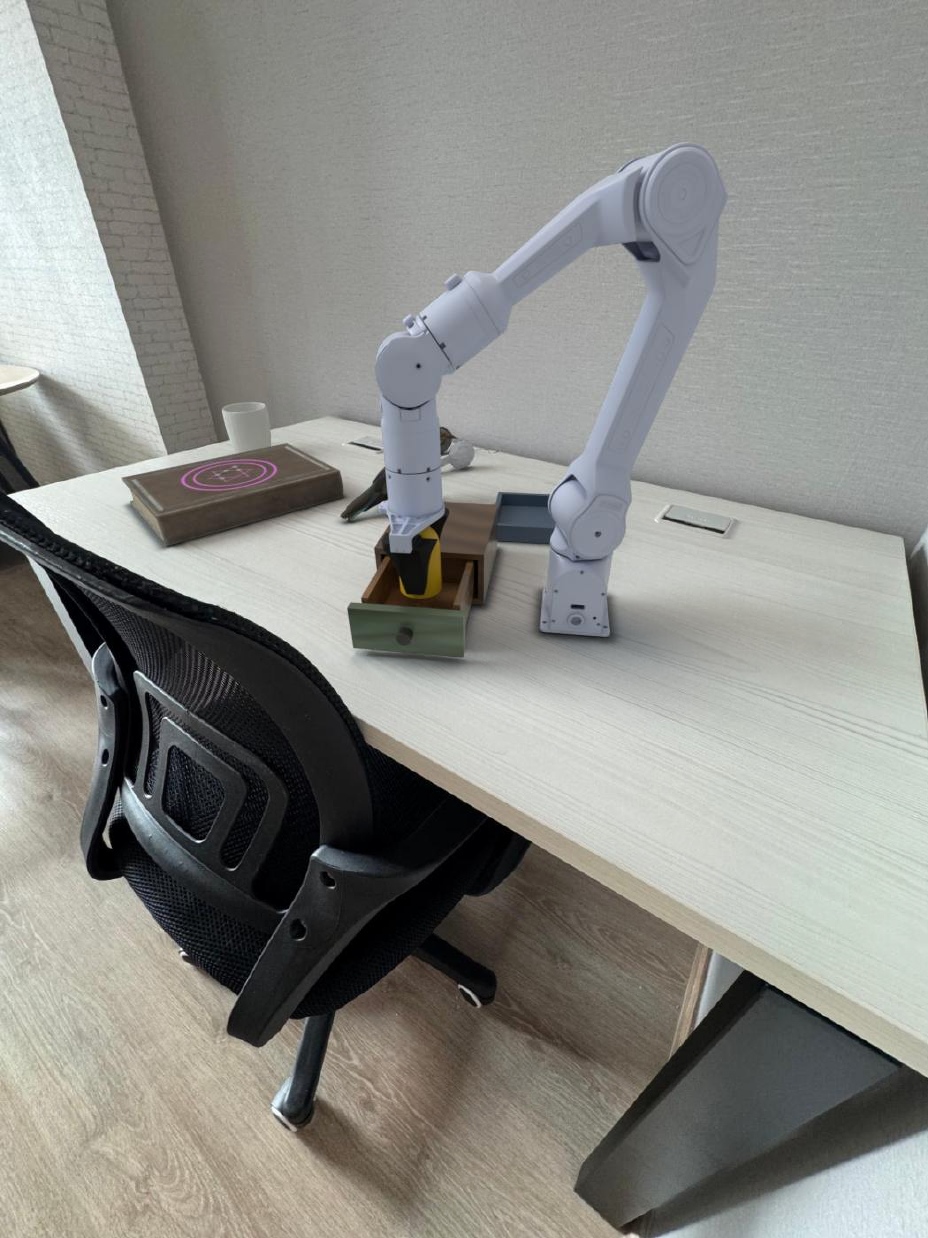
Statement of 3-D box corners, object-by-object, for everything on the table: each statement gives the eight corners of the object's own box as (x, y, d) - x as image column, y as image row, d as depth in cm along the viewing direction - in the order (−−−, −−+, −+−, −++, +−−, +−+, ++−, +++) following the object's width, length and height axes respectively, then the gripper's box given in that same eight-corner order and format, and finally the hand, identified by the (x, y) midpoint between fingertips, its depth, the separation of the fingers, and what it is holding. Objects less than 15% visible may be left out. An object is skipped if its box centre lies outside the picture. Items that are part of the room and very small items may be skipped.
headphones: (467, 441, 125) (384, 468, 120) (463, 415, 122) (377, 442, 117) (504, 463, 112) (412, 495, 107) (501, 435, 109) (406, 467, 104)
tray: (592, 546, 84) (594, 530, 83) (488, 540, 86) (488, 524, 85) (589, 510, 95) (591, 495, 94) (498, 506, 97) (498, 491, 96)
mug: (281, 455, 122) (272, 407, 116) (240, 464, 118) (228, 414, 112) (261, 442, 130) (251, 396, 125) (222, 449, 126) (210, 403, 121)
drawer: (462, 665, 59) (461, 623, 56) (349, 654, 61) (343, 614, 58) (481, 589, 72) (481, 552, 69) (388, 582, 74) (384, 546, 71)
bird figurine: (352, 530, 88) (403, 407, 83) (330, 510, 95) (376, 395, 90) (420, 552, 96) (469, 441, 92) (394, 533, 103) (439, 429, 99)
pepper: (437, 600, 63) (433, 526, 58) (395, 597, 63) (388, 523, 58) (445, 579, 67) (442, 508, 62) (406, 576, 67) (400, 506, 62)
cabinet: (483, 605, 71) (484, 554, 67) (379, 597, 73) (373, 547, 69) (497, 549, 83) (498, 504, 80) (408, 544, 85) (404, 499, 81)
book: (291, 467, 116) (287, 442, 113) (345, 497, 101) (341, 470, 98) (131, 504, 100) (121, 477, 97) (167, 547, 85) (156, 516, 82)
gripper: (393, 442, 64) (402, 550, 71) (352, 489, 52) (368, 612, 59) (454, 444, 63) (457, 553, 70) (427, 492, 51) (434, 617, 58)
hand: (420, 581), depth 65 cm, fingers closed on pepper, 5 cm apart
